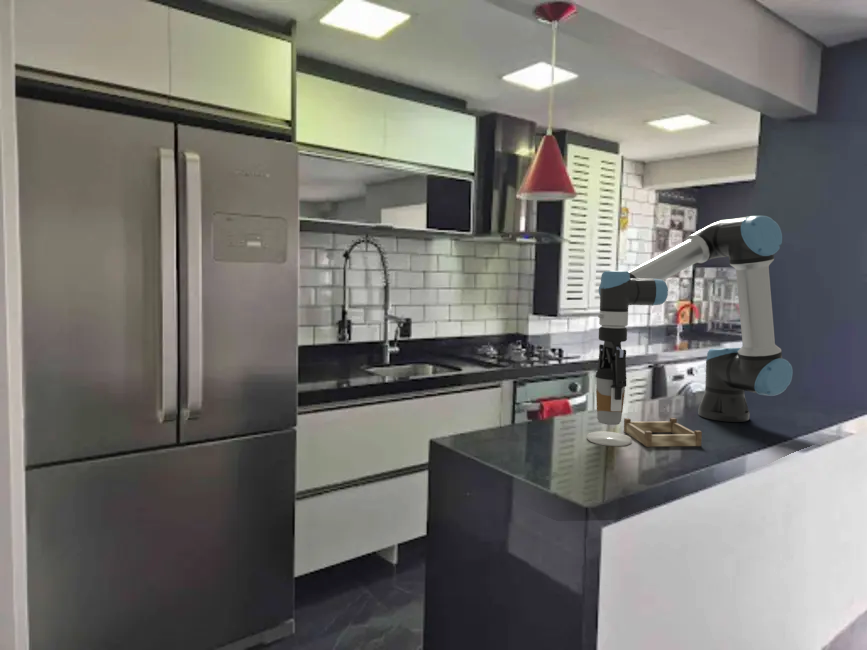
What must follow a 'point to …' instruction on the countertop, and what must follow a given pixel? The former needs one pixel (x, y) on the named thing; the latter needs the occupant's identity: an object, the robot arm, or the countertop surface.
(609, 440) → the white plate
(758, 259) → the robot arm
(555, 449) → the countertop surface
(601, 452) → the countertop surface
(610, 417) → the coffee cup
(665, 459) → the countertop surface
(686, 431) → the wooden frame
